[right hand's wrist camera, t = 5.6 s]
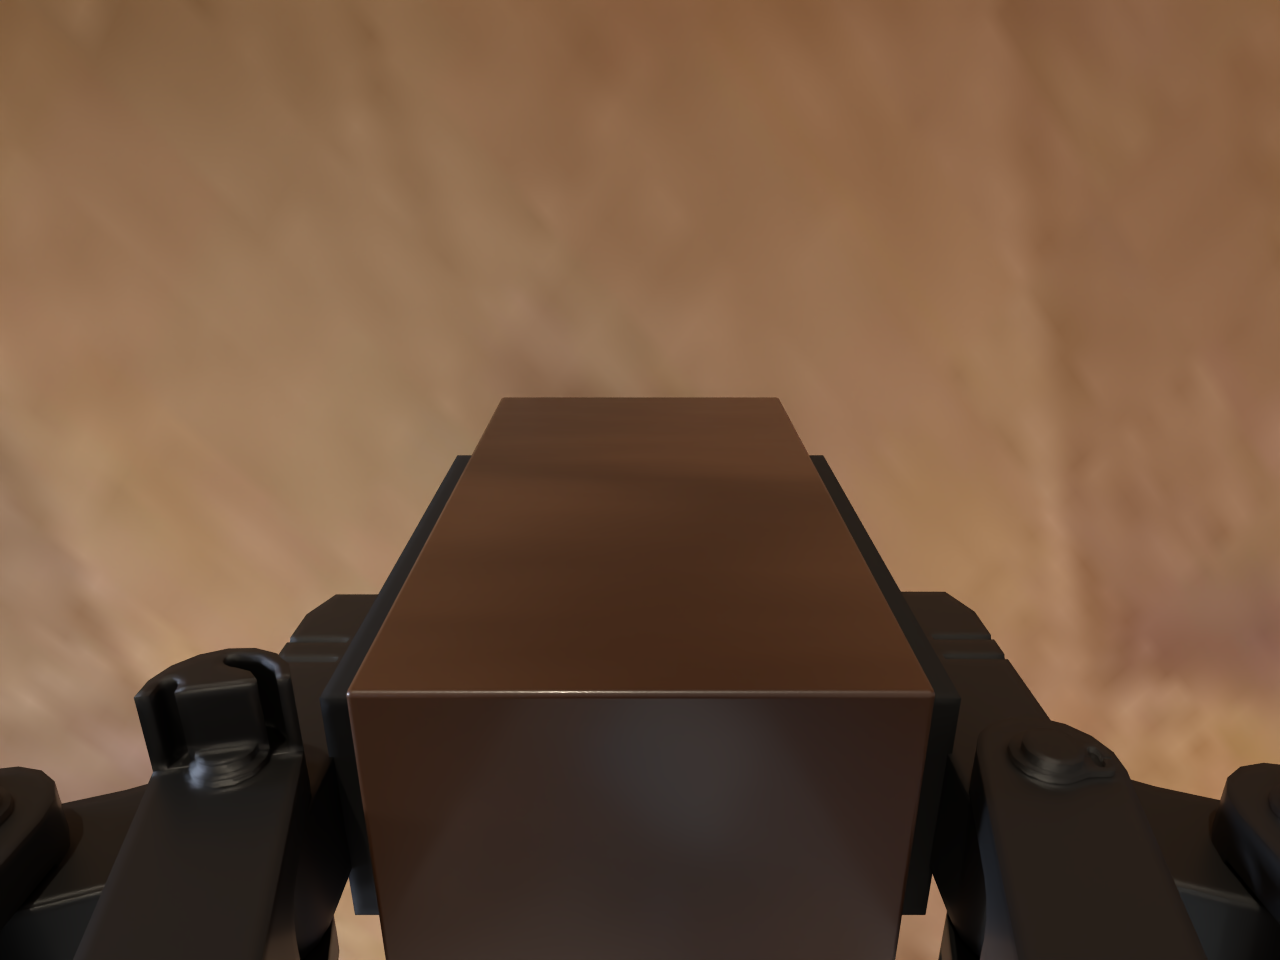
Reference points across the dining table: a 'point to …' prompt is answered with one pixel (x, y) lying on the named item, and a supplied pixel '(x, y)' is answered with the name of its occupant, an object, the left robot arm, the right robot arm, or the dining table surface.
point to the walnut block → (640, 702)
